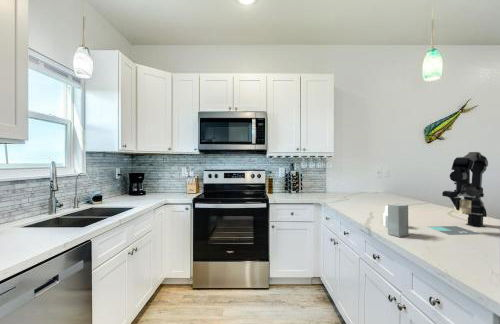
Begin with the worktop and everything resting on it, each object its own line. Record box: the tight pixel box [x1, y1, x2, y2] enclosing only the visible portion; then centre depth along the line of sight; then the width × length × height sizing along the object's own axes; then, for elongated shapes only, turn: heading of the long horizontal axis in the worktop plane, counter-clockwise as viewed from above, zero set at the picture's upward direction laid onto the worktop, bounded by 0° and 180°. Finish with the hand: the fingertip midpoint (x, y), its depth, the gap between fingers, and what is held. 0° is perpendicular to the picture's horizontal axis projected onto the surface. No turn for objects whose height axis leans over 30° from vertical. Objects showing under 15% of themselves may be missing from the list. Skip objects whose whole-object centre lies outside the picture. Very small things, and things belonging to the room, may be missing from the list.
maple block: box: [453, 198, 471, 215], centre depth 142 cm, size 5×5×7 cm
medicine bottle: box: [382, 205, 388, 229], centre depth 155 cm, size 7×7×12 cm
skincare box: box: [387, 203, 409, 238], centre depth 138 cm, size 8×7×16 cm
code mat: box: [428, 225, 481, 236], centre depth 146 cm, size 18×16×1 cm
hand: (462, 210), depth 143 cm, fingers closed on maple block, 5 cm apart
